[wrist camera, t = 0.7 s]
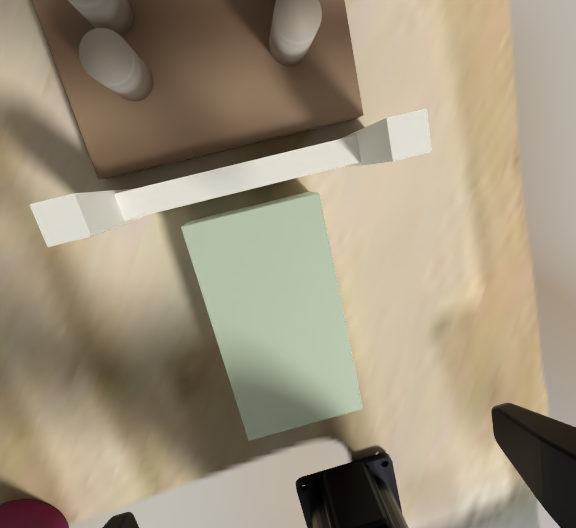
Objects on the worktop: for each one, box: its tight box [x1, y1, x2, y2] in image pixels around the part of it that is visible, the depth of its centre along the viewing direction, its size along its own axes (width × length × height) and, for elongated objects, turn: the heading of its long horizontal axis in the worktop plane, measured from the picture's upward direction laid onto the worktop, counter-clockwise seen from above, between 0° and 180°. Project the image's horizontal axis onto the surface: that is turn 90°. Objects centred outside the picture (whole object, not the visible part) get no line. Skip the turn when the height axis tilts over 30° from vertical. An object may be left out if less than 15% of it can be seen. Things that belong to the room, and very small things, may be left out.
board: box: [181, 191, 363, 441], centre depth 19 cm, size 12×6×3 cm, turn 13°
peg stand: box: [32, 0, 363, 179], centre depth 14 cm, size 10×13×4 cm
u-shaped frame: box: [29, 108, 432, 247], centre depth 15 cm, size 2×14×6 cm, turn 104°
